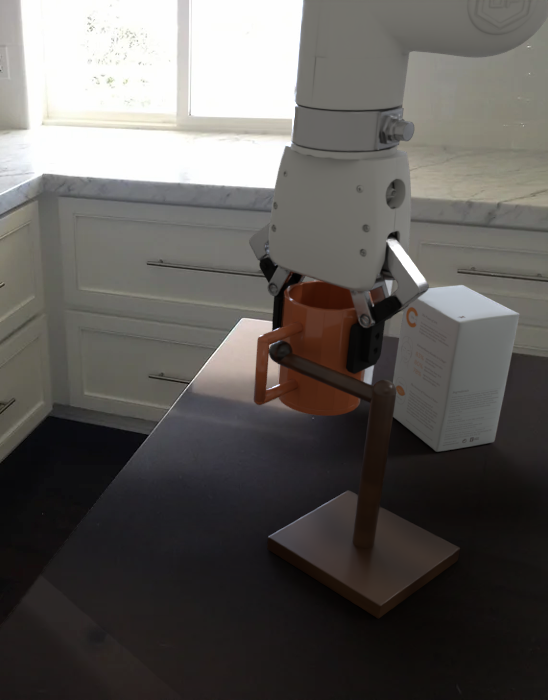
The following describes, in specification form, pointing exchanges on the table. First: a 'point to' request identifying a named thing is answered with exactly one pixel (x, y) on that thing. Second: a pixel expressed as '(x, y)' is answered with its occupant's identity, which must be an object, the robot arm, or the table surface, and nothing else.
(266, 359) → the mug
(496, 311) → the small box
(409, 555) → the mug stand
